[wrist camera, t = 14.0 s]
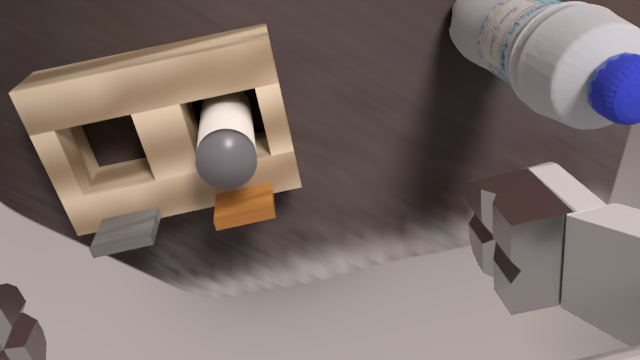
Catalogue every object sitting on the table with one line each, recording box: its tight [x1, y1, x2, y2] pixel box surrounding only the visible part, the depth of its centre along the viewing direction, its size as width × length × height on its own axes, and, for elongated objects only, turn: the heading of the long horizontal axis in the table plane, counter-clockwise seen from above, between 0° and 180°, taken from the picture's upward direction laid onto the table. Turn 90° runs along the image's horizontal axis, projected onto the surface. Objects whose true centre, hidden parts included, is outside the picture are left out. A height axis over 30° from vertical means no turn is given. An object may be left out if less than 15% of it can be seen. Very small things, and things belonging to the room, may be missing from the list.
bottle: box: [449, 0, 640, 129], centre depth 34 cm, size 7×7×20 cm
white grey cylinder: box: [195, 91, 257, 189], centre depth 39 cm, size 4×4×10 cm
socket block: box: [9, 23, 302, 258], centre depth 40 cm, size 12×18×9 cm, turn 100°
